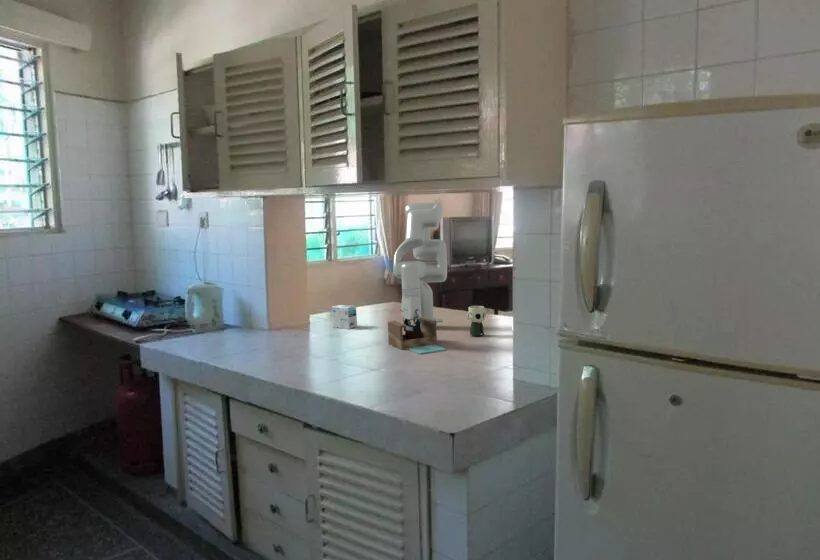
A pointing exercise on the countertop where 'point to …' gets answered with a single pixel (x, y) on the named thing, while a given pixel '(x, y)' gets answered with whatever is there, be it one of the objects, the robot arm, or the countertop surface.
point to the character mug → (476, 319)
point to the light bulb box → (344, 316)
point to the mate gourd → (410, 332)
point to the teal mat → (427, 349)
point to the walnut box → (401, 343)
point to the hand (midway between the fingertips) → (412, 332)
